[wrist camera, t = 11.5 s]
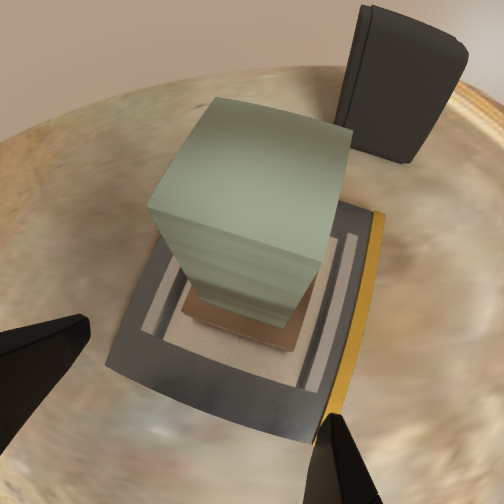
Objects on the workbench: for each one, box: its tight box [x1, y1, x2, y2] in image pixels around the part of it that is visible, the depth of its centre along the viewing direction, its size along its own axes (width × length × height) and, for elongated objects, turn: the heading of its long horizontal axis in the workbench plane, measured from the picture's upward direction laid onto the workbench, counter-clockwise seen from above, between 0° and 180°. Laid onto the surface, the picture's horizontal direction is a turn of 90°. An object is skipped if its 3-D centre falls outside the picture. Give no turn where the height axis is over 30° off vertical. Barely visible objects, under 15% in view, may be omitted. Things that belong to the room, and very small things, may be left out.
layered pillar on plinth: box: [146, 97, 353, 352], centre depth 15 cm, size 7×7×13 cm
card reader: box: [334, 5, 469, 164], centre depth 22 cm, size 9×4×15 cm, turn 74°
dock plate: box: [105, 200, 385, 446], centre depth 21 cm, size 18×16×4 cm
